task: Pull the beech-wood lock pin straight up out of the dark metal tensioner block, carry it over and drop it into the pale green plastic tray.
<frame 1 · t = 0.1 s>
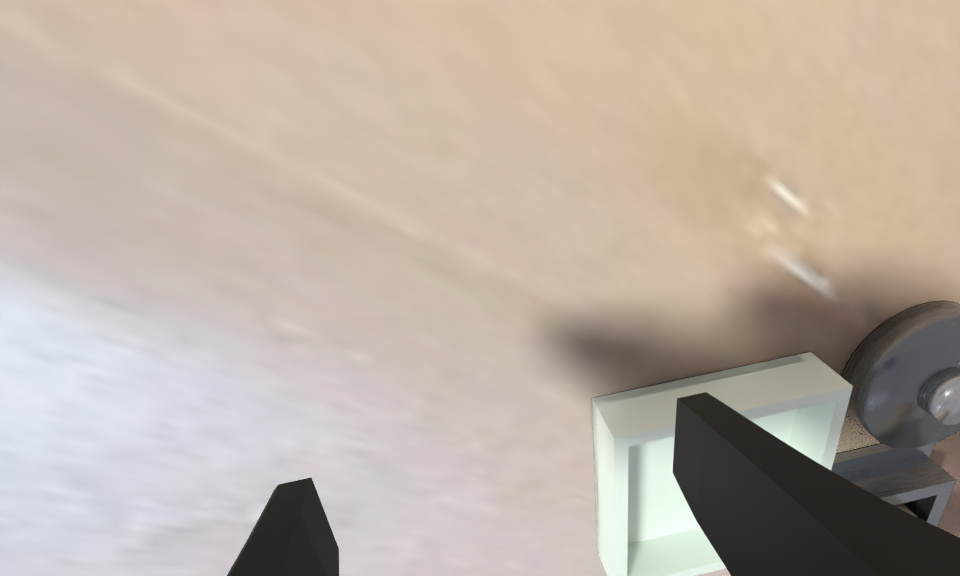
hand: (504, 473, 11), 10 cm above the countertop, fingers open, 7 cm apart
pulley: (908, 365, 26), on the countertop
tensioner block: (850, 500, 30), on the countertop
tray: (695, 458, 27), on the countertop
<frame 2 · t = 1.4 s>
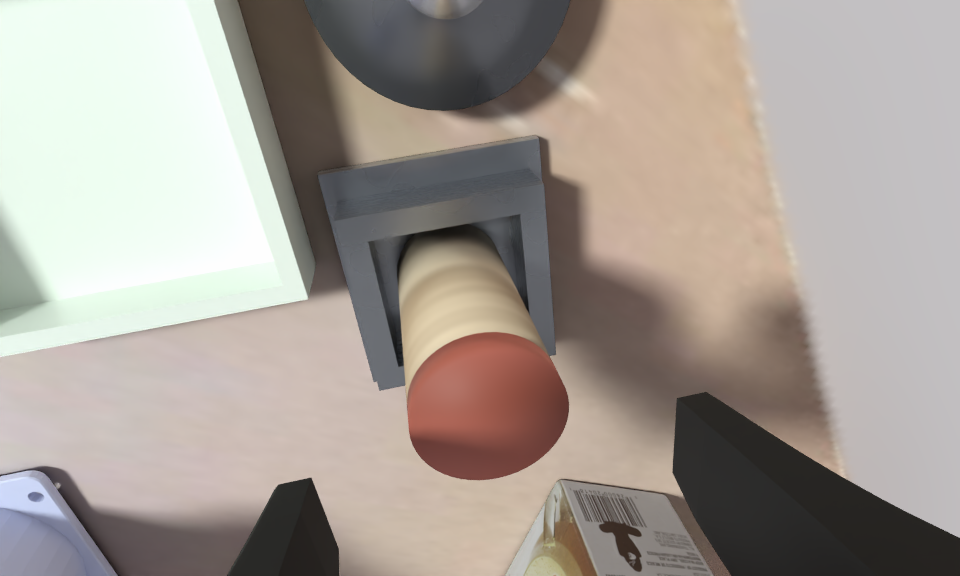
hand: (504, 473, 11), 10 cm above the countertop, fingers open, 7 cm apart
lock pin: (449, 270, 19), resting on tensioner block
tensioner block: (447, 264, 19), on the countertop
coffee box: (574, 543, 28), on the countertop
tray: (90, 138, 16), on the countertop
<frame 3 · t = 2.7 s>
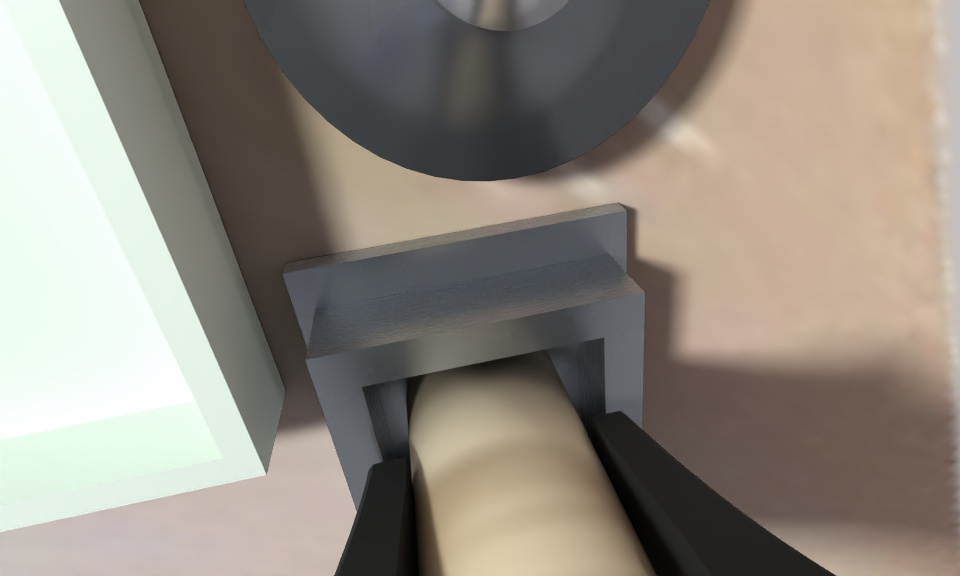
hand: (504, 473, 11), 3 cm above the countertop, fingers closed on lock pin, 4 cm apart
lock pin: (483, 396, 13), resting on tensioner block, touching gripper
tensioner block: (480, 383, 13), on the countertop
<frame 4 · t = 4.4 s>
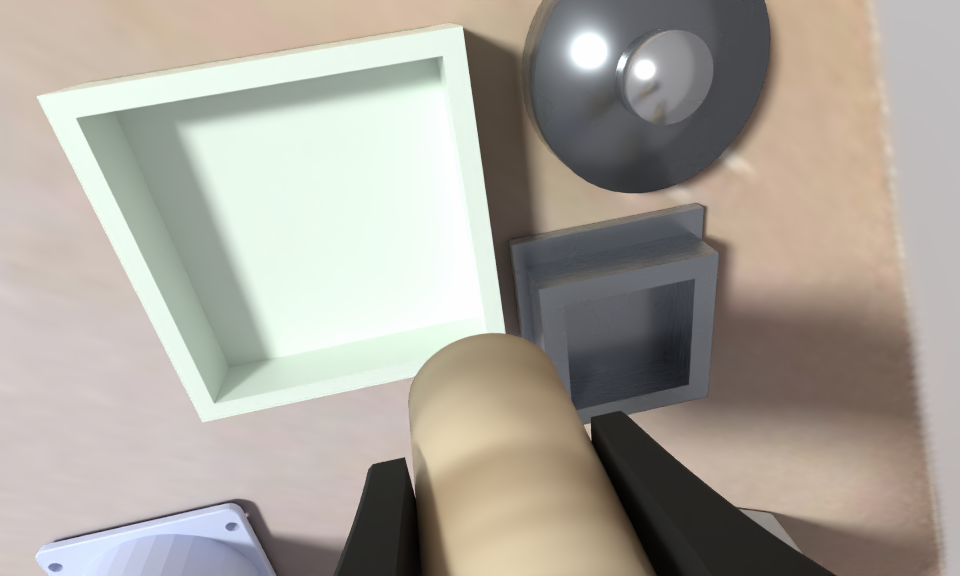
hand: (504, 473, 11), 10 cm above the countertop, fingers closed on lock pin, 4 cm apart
pulley: (629, 68, 17), on the countertop
lock pin: (485, 398, 13), point 7 cm above the countertop, touching gripper
tensioner block: (607, 315, 21), on the countertop
coffee box: (683, 558, 30), on the countertop
tray: (323, 219, 18), on the countertop
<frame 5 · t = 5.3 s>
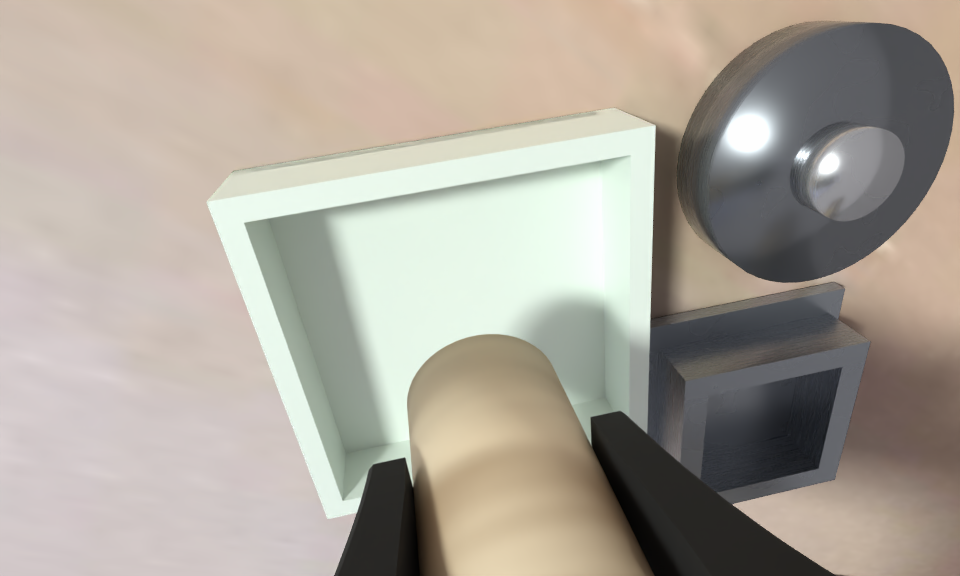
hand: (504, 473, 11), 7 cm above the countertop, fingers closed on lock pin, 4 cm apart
pulley: (787, 151, 16), on the countertop
lock pin: (483, 399, 13), point 5 cm above the countertop, touching gripper
tensioner block: (728, 392, 21), on the countertop
tray: (457, 304, 17), on the countertop
when the fingers open (4 cm above the countertop, at t = 6.2 s): lock pin stays where it is, resting on tray.
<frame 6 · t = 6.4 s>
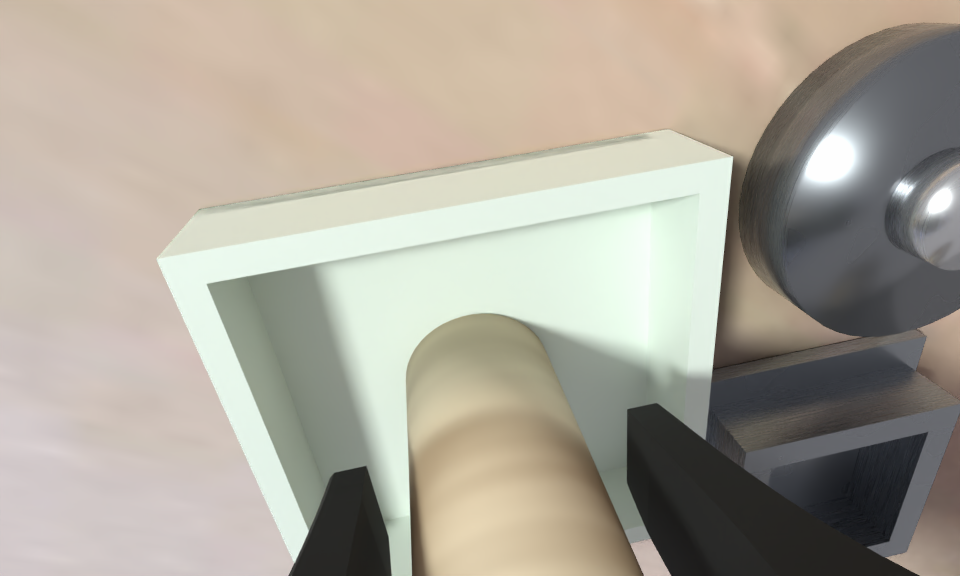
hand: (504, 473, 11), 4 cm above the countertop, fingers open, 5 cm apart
pulley: (871, 178, 14), on the countertop
lock pin: (478, 375, 14), point 1 cm above the countertop, touching tray
tensioner block: (783, 450, 18), on the countertop
tray: (473, 360, 14), on the countertop
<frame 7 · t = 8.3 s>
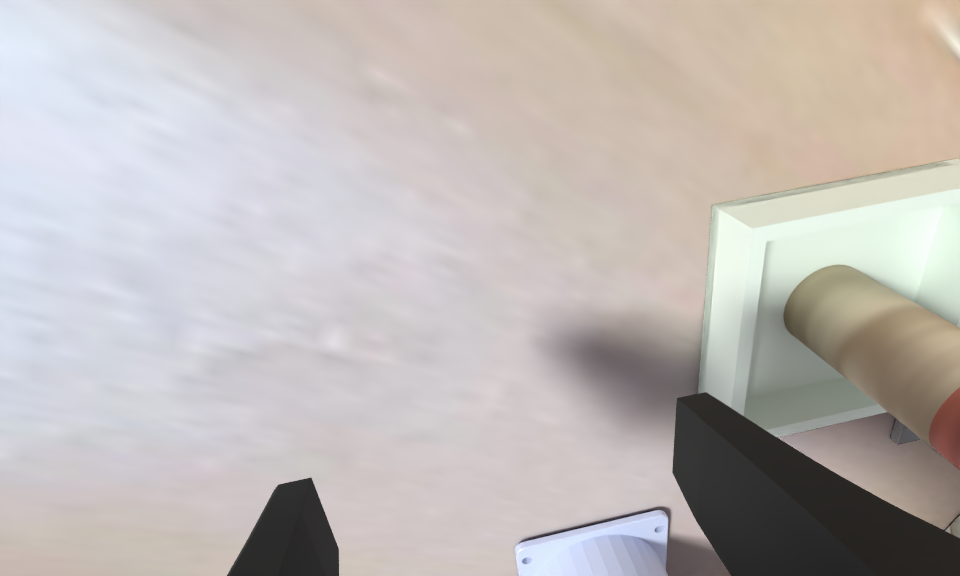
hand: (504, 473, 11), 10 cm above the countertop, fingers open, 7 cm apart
lock pin: (823, 303, 23), point 1 cm above the countertop, touching tray
coffee box: (946, 557, 36), on the countertop
tray: (815, 295, 24), on the countertop
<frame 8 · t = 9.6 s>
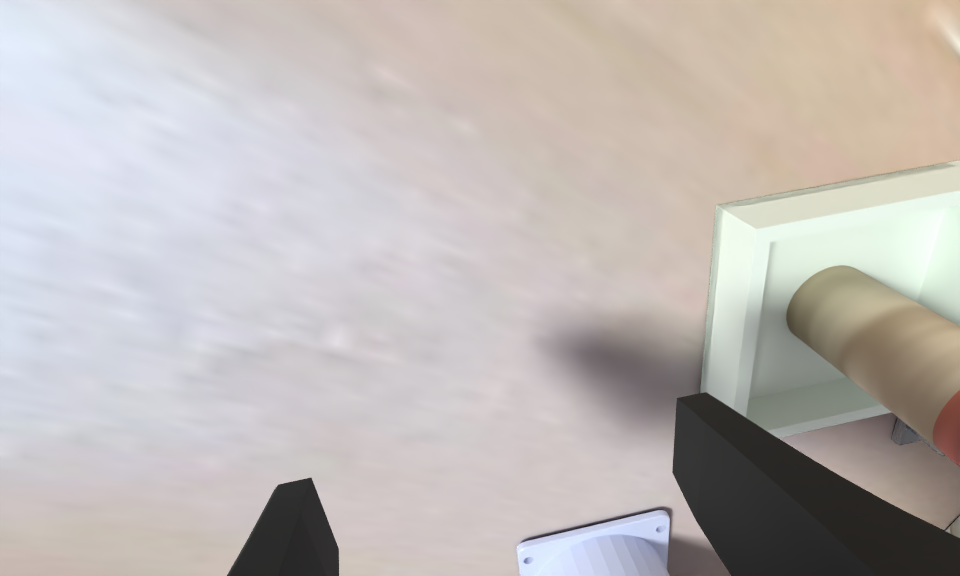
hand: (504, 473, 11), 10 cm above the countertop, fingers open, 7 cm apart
lock pin: (826, 304, 23), point 1 cm above the countertop, touching tray
coffee box: (946, 558, 36), on the countertop
tray: (818, 296, 24), on the countertop
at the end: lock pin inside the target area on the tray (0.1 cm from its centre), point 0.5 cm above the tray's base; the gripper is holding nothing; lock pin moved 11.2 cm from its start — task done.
